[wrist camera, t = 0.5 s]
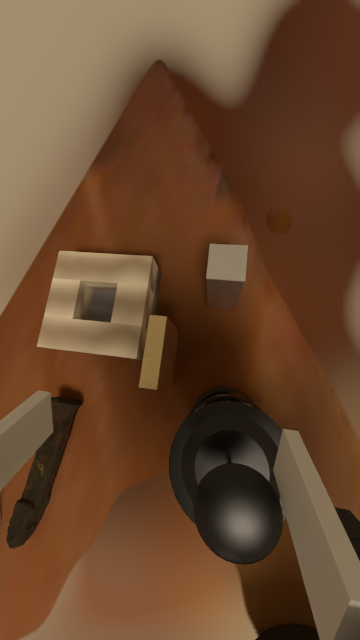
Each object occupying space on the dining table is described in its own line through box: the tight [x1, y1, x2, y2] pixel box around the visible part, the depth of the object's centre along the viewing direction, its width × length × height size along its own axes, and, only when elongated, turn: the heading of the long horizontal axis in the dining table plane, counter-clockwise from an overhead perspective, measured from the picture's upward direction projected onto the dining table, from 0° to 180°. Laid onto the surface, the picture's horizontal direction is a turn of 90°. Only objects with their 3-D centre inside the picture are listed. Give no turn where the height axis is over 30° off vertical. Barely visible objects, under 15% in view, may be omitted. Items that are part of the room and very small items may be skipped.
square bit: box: [206, 244, 248, 310], centre depth 32 cm, size 4×4×12 cm
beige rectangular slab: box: [139, 315, 179, 390], centre depth 32 cm, size 8×2×10 cm, turn 173°
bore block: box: [37, 251, 161, 360], centre depth 36 cm, size 14×14×6 cm
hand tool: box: [7, 397, 82, 548], centre depth 33 cm, size 19×4×5 cm, turn 164°
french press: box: [169, 387, 286, 565], centre depth 22 cm, size 12×9×23 cm
